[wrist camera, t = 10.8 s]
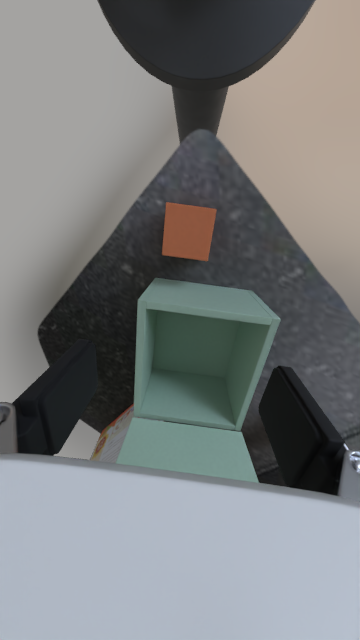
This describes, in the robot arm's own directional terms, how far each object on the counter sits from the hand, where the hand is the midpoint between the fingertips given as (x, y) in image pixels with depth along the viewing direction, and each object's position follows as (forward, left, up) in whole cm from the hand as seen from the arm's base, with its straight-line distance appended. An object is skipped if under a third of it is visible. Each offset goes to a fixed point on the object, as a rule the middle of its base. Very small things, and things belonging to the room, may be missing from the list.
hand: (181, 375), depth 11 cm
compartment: (+7, +2, -19) cm, 20 cm away
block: (-7, -1, -19) cm, 20 cm away
